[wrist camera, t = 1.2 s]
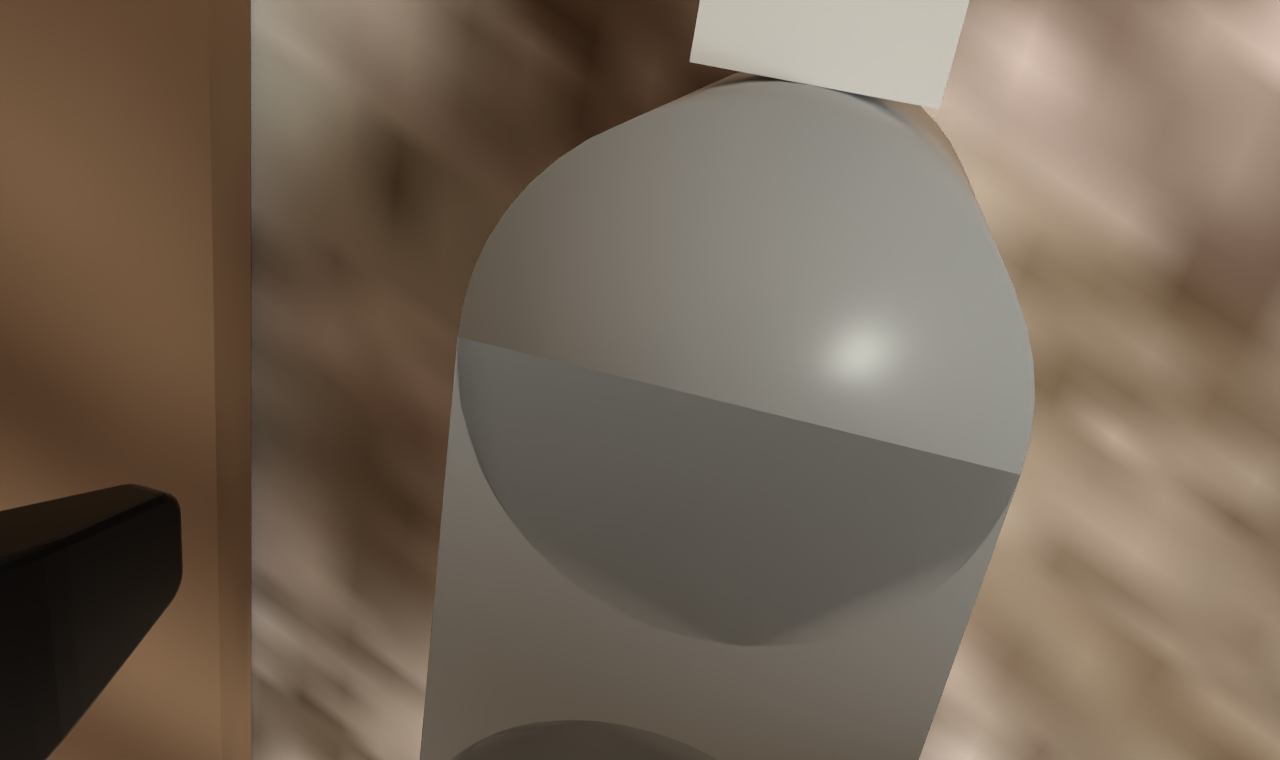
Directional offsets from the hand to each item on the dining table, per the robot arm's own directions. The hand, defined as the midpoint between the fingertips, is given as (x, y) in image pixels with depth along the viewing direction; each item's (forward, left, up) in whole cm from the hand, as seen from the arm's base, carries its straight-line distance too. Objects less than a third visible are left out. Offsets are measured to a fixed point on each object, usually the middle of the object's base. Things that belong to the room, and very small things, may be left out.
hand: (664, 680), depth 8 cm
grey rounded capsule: (+1, 0, -5) cm, 5 cm away
